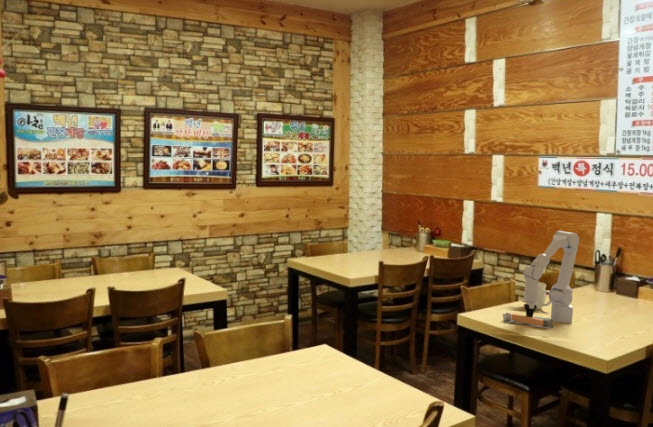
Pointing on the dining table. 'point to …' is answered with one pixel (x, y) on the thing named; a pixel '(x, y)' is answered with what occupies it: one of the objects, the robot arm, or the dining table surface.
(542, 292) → the white floral mug
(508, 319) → the board
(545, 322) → the swing bar
